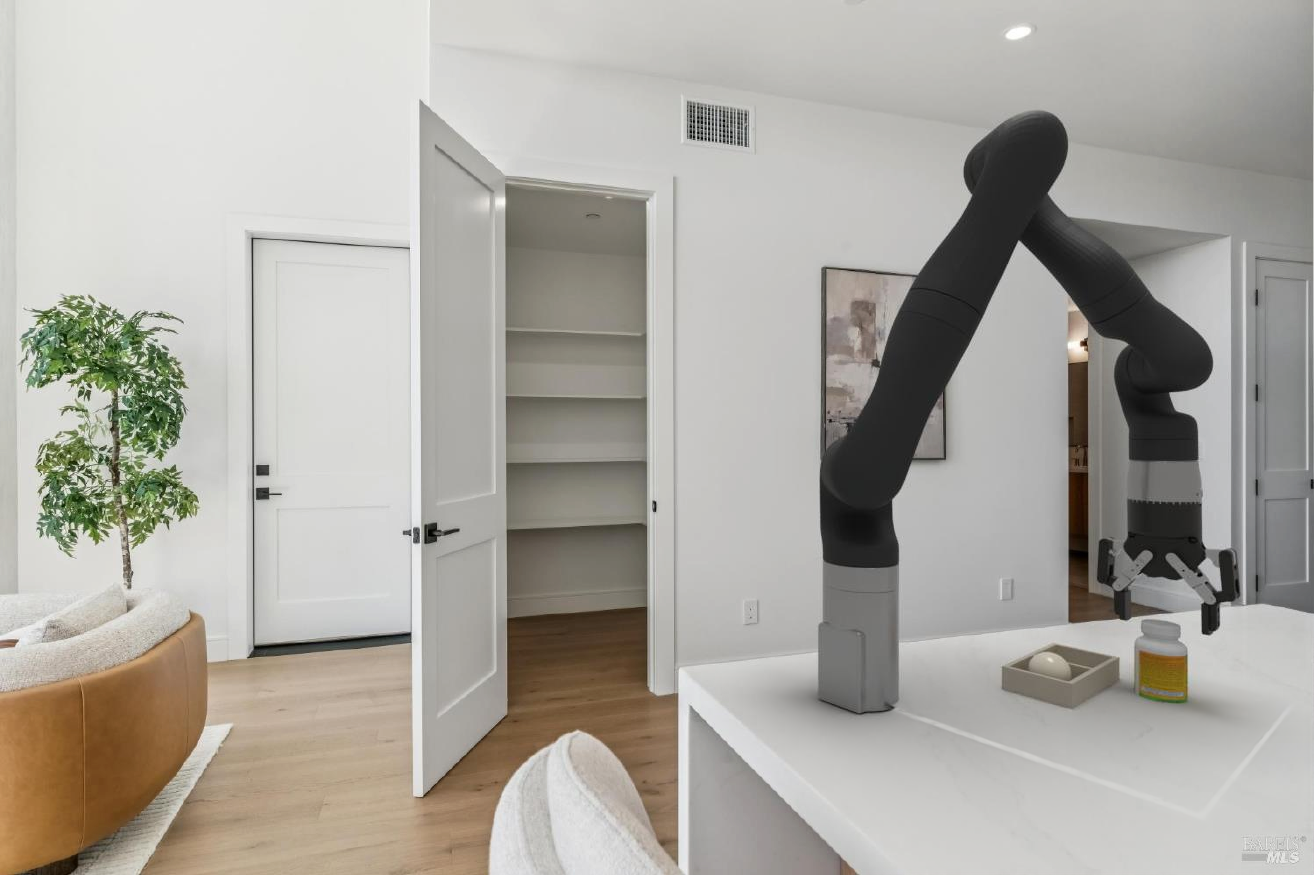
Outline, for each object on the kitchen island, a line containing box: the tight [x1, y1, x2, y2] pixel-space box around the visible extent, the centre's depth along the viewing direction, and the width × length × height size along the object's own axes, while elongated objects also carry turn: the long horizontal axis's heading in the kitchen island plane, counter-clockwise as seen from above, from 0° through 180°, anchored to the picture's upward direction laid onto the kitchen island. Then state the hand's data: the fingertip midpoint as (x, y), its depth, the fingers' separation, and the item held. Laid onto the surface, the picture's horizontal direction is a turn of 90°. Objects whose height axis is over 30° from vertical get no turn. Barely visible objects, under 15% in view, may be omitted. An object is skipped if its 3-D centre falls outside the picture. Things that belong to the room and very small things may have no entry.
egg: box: [1028, 652, 1072, 682], centre depth 87 cm, size 5×5×5 cm
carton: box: [1001, 642, 1121, 710], centre depth 90 cm, size 16×8×4 cm, turn 129°
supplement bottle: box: [1133, 618, 1189, 706], centre depth 85 cm, size 5×5×10 cm
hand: (1165, 626), depth 86 cm, fingers open, 8 cm apart
